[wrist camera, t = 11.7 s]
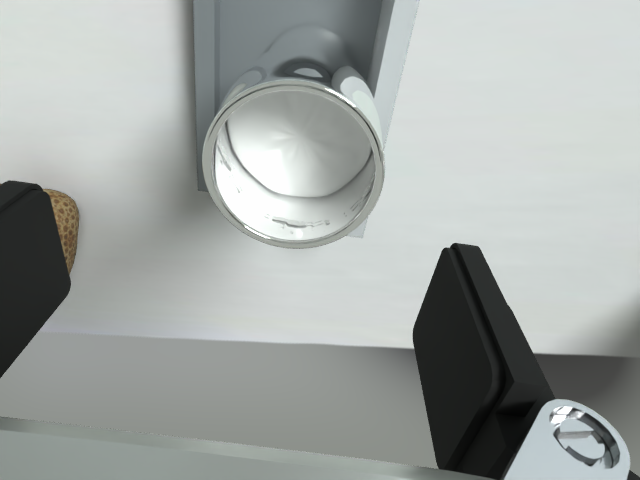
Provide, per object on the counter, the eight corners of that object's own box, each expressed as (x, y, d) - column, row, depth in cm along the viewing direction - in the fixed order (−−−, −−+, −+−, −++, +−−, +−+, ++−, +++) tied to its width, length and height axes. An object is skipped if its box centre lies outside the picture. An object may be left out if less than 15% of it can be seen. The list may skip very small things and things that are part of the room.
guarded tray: (419, -87, 23) (443, -98, 19) (357, 196, 34) (362, 238, 29) (202, -126, 23) (167, -148, 18) (206, 175, 33) (183, 214, 28)
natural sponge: (-14, 227, 36) (-116, 309, 28) (-9, 138, 31) (-129, 203, 23) (95, 266, 38) (30, 352, 30) (114, 187, 34) (44, 263, 25)
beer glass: (300, 146, 30) (279, 280, 18) (234, 63, 27) (153, 153, 15) (383, 88, 28) (426, 195, 15) (322, -11, 25) (313, 23, 12)
